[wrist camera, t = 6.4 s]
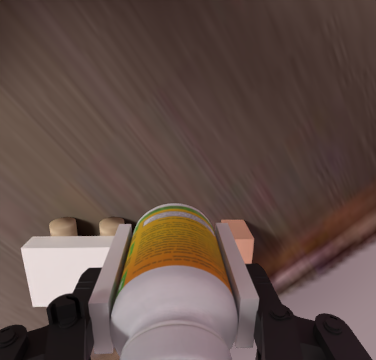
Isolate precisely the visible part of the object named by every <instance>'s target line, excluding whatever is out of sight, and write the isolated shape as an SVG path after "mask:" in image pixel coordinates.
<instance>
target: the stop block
mask: <svg viewBox="0 0 376 360" xmlns="http://www.w3.org/2000/svg"><path fill="white" fill-rule="evenodd" d="M221 223H228V225H229V228H230V230H231V232H232V235H233V237H234V239H235V242H236V244H237V247H238V249H239V251H240V254H241V256H242V258H243V261H244V263H245V264H252V255H253V246H254V238H253V236H252V234H251V232H250V231H249V229H248V227H247V225H246V223H245V221H244V220H221Z"/></svg>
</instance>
